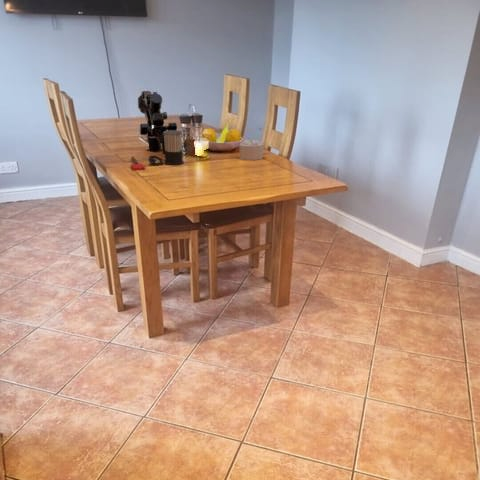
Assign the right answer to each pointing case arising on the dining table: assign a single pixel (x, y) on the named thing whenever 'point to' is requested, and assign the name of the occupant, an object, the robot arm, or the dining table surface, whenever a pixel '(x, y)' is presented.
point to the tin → (190, 147)
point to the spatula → (137, 165)
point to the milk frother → (170, 148)
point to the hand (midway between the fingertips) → (161, 143)
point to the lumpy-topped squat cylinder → (251, 150)
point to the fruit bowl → (223, 139)
